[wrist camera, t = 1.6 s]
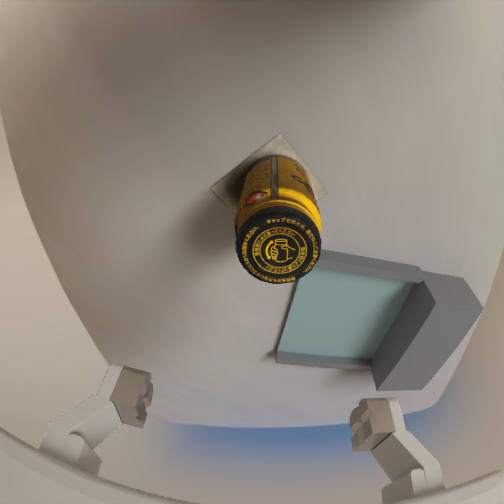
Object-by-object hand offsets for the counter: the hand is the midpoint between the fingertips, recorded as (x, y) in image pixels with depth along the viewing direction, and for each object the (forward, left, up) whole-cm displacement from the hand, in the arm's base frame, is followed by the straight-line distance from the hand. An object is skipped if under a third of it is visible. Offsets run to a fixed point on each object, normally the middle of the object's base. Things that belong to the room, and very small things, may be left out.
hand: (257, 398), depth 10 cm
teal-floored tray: (+14, +16, -21) cm, 30 cm away
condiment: (0, 0, -22) cm, 22 cm away
